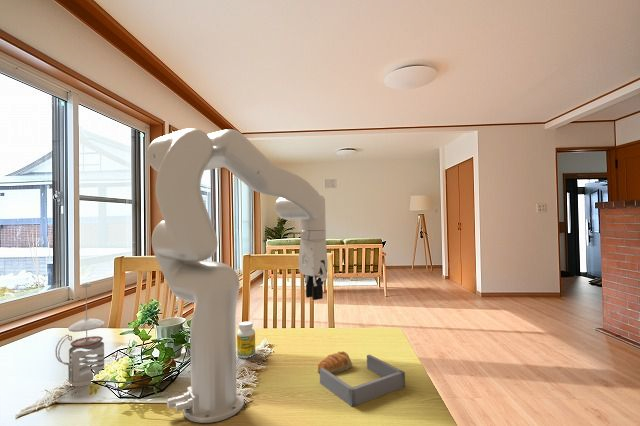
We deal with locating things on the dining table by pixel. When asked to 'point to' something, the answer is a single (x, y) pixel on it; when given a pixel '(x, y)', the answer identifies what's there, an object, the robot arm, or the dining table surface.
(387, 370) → the gray u-shaped fence
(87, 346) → the french press
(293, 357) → the dining table surface
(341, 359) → the pastry
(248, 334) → the supplement bottle
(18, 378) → the dining table surface
